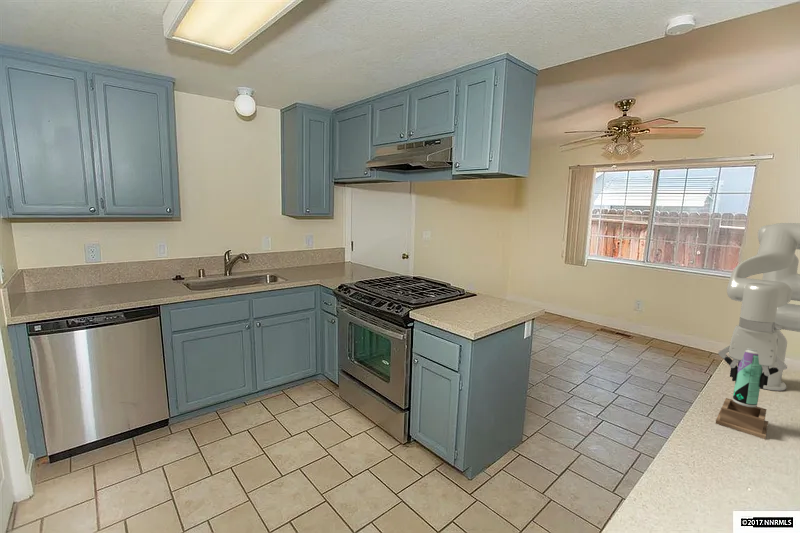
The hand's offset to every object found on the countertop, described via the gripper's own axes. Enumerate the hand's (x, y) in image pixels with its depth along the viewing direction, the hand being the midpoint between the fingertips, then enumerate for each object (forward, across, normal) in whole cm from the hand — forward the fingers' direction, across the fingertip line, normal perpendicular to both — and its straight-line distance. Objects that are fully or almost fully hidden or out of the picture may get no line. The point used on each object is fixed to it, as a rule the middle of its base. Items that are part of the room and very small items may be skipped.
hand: (747, 382), depth 112 cm
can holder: (+13, 0, 0) cm, 13 cm away
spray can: (+7, 0, 0) cm, 7 cm away
